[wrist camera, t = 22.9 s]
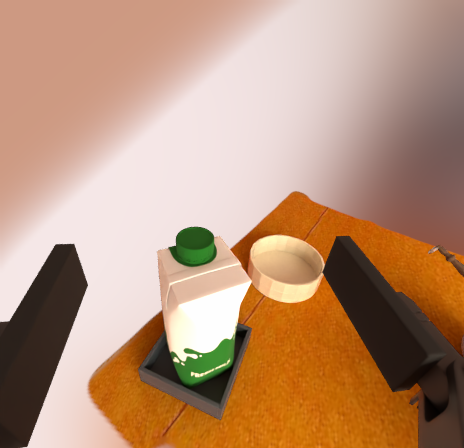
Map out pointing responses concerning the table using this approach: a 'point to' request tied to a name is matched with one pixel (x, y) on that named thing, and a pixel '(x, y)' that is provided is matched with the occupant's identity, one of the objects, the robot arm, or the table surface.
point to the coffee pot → (459, 266)
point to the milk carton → (200, 304)
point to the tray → (204, 395)
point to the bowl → (285, 268)
